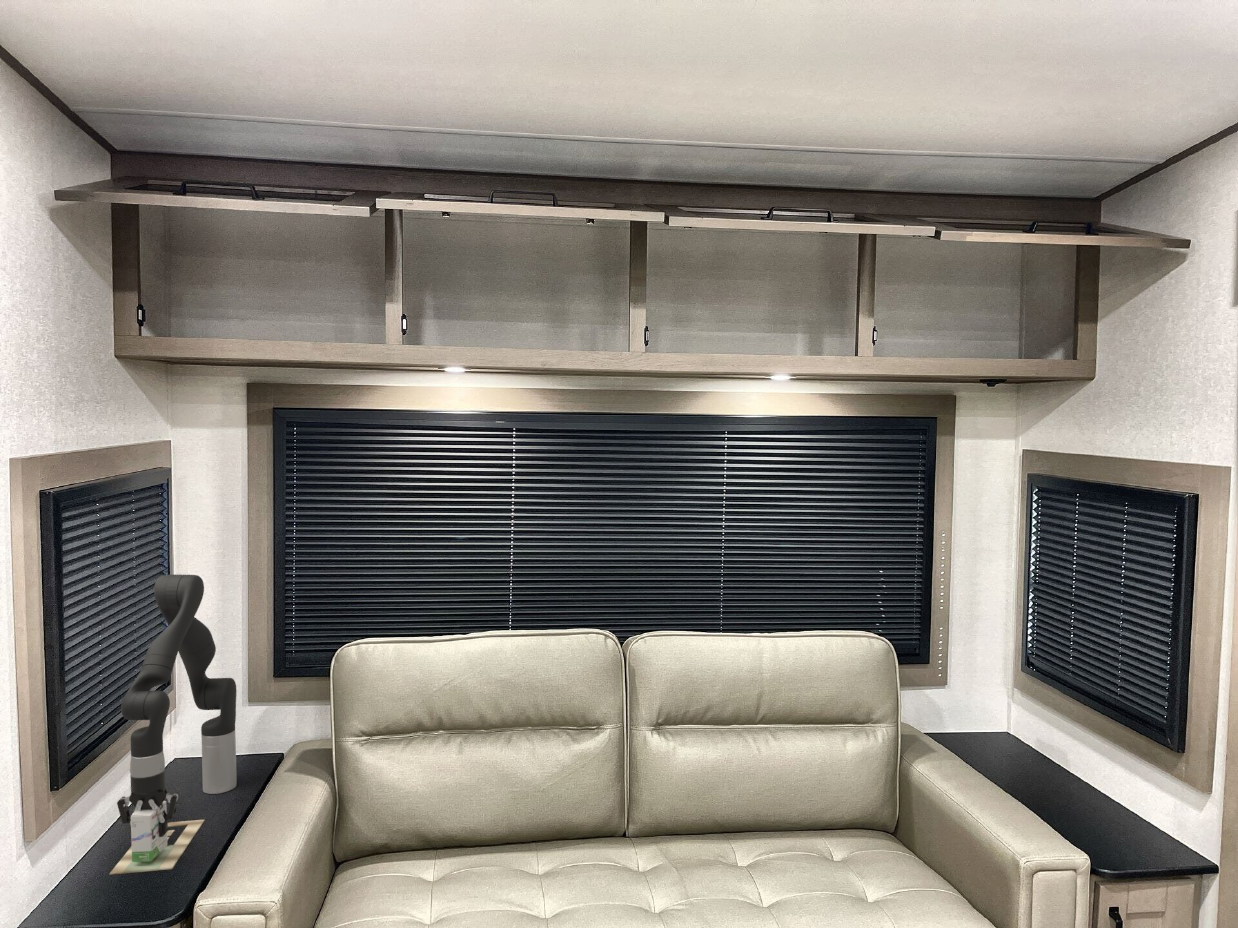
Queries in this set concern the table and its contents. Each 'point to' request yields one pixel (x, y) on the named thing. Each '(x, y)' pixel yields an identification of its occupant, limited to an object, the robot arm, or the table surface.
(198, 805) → the table surface
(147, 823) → the ink box
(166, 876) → the table surface
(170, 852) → the beige rectangular frame
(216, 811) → the table surface
